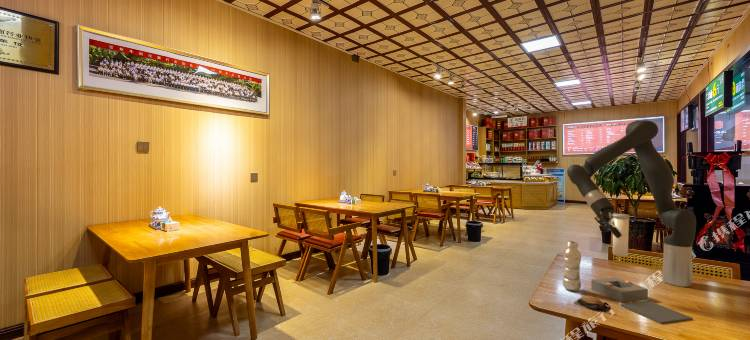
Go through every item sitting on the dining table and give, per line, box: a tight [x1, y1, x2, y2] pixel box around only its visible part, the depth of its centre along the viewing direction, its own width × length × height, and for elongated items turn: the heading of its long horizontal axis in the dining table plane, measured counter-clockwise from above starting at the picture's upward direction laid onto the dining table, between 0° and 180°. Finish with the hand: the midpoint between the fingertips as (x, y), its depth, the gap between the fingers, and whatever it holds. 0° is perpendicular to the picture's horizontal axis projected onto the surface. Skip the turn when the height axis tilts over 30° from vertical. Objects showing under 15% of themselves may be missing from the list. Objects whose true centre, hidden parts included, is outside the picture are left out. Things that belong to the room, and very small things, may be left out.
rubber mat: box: [619, 300, 693, 325], centre depth 117 cm, size 14×14×1 cm
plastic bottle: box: [562, 240, 582, 292], centre depth 137 cm, size 6×7×20 cm
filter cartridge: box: [612, 213, 631, 257], centre depth 133 cm, size 6×6×16 cm
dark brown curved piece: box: [572, 295, 612, 313], centre depth 122 cm, size 11×8×4 cm
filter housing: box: [590, 277, 649, 303], centre depth 133 cm, size 13×13×5 cm
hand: (625, 236), depth 131 cm, fingers closed on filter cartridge, 5 cm apart
